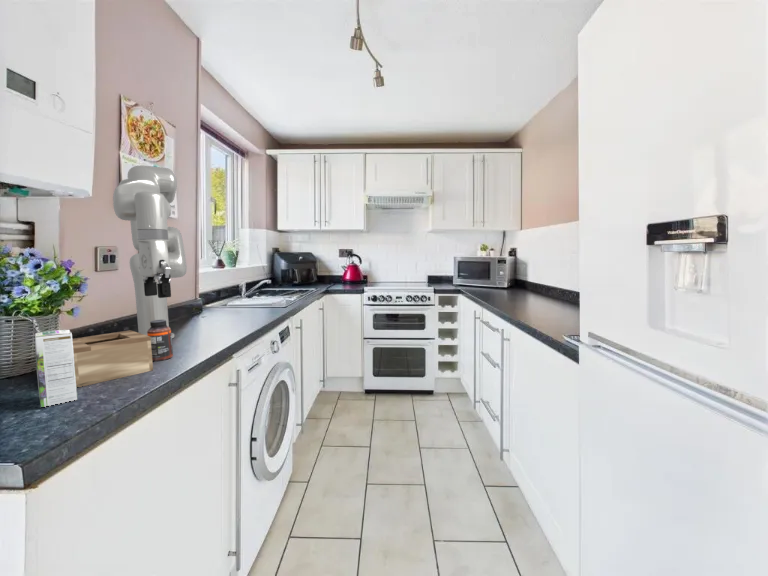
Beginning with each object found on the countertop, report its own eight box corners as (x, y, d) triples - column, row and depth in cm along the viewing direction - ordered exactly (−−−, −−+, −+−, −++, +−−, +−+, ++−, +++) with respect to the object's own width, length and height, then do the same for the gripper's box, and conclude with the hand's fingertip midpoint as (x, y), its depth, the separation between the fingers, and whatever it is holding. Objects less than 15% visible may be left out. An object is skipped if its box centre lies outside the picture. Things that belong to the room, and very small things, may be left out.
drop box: (60, 375, 94) (57, 341, 94) (133, 361, 107) (130, 330, 106) (75, 388, 85) (71, 349, 84) (153, 370, 97) (150, 336, 96)
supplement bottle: (166, 355, 113) (163, 318, 112) (177, 357, 110) (174, 319, 109) (145, 360, 108) (142, 321, 107) (156, 362, 105) (153, 323, 104)
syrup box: (39, 401, 77) (32, 332, 76) (76, 393, 82) (69, 328, 80) (40, 408, 73) (33, 336, 72) (79, 400, 77) (72, 331, 76)
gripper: (127, 237, 108) (132, 296, 110) (150, 234, 97) (155, 299, 99) (155, 238, 114) (159, 293, 116) (180, 235, 103) (184, 296, 105)
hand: (157, 296), depth 107 cm, fingers open, 9 cm apart
